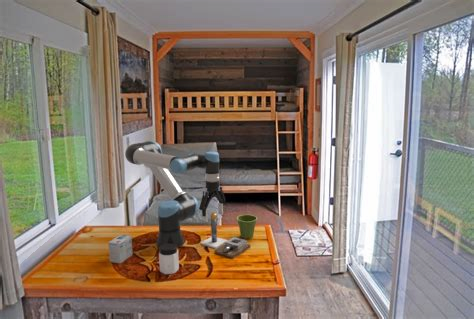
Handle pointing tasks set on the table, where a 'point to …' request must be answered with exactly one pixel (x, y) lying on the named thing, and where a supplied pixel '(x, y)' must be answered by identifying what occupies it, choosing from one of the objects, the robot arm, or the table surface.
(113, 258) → the light bulb box
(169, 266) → the jar
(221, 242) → the mat
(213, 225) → the copper and gray cylinder
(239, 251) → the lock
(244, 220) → the plant pot
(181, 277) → the table surface
